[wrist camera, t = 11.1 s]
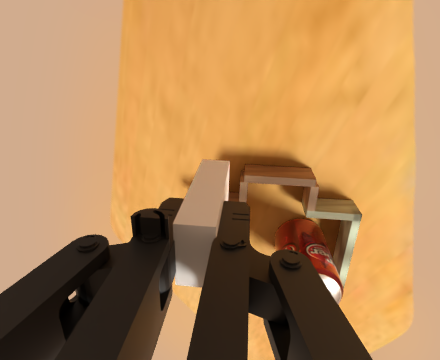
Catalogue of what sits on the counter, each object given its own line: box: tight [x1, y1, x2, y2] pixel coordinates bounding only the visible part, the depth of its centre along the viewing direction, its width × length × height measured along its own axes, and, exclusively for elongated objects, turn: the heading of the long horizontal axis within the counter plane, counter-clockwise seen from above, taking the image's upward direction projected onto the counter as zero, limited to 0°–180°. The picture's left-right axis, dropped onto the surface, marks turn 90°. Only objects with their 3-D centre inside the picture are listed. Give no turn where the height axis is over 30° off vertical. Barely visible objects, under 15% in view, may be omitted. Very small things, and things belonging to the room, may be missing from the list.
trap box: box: [228, 164, 362, 289], centre depth 44 cm, size 22×21×4 cm
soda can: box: [275, 219, 343, 304], centre depth 40 cm, size 7×7×12 cm
